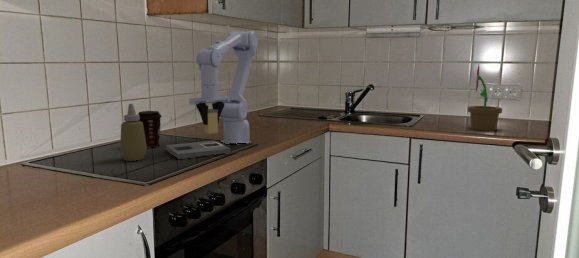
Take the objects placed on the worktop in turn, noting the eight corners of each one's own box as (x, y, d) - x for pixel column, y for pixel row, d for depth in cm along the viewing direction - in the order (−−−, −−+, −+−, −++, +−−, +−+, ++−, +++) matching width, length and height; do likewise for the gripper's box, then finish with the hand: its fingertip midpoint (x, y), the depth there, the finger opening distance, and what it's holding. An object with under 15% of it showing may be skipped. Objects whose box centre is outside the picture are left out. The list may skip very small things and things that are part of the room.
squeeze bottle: (150, 156, 139) (147, 102, 136) (143, 162, 131) (139, 105, 128) (126, 156, 139) (122, 102, 136) (116, 162, 131) (113, 105, 128)
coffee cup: (154, 143, 160) (153, 109, 158) (167, 146, 155) (166, 111, 153) (134, 147, 154) (132, 111, 152) (146, 150, 149) (144, 113, 146)
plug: (213, 131, 149) (212, 108, 148) (218, 132, 146) (217, 109, 145) (203, 132, 147) (202, 109, 145) (208, 134, 144) (207, 110, 142)
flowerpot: (467, 126, 203) (471, 63, 198) (500, 128, 197) (505, 63, 192) (465, 130, 190) (470, 64, 186) (500, 133, 184) (506, 64, 179)
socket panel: (214, 145, 156) (214, 139, 156) (230, 154, 143) (230, 147, 142) (165, 150, 147) (165, 144, 147) (178, 160, 134) (177, 153, 133)
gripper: (223, 83, 151) (223, 120, 153) (185, 85, 143) (186, 124, 145) (232, 84, 146) (233, 123, 148) (193, 86, 137) (195, 127, 139)
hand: (210, 124), depth 146 cm, fingers closed on plug, 4 cm apart
